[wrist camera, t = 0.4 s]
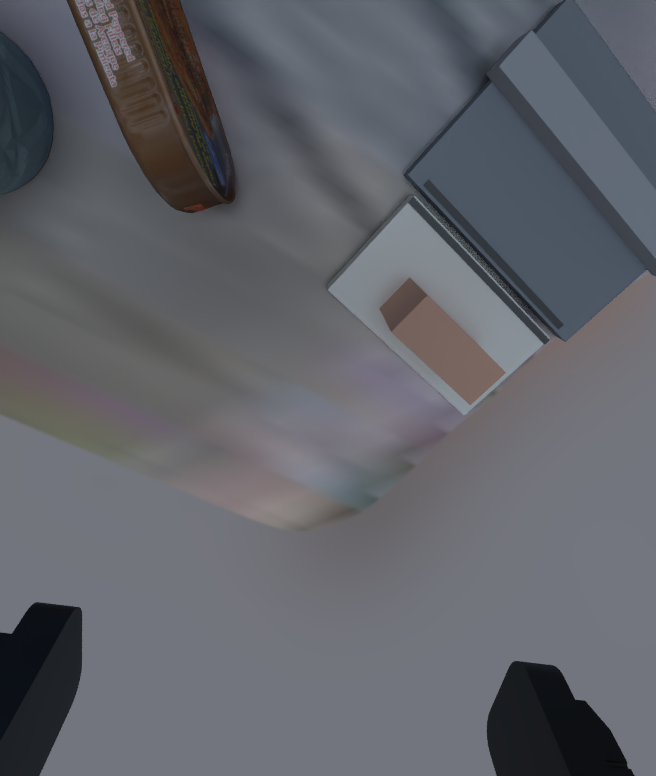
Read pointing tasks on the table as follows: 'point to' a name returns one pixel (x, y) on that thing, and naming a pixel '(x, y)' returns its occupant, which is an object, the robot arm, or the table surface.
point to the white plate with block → (437, 306)
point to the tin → (160, 97)
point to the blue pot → (21, 118)
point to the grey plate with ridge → (552, 172)
